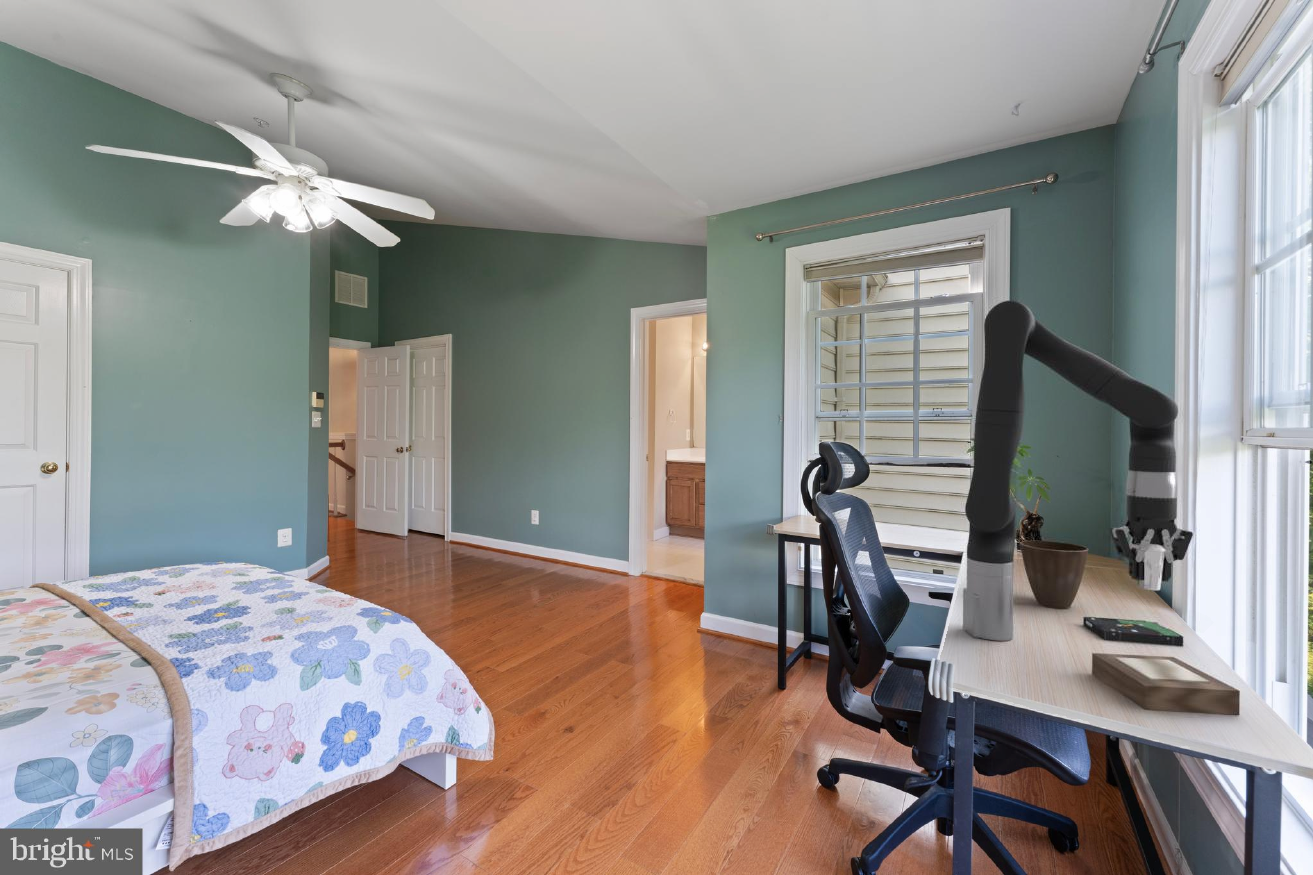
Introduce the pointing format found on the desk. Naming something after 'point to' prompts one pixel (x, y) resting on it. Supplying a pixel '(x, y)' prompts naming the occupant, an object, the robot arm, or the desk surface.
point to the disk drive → (1132, 631)
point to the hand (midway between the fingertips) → (1149, 579)
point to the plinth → (1165, 684)
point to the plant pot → (1054, 571)
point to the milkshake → (1152, 567)
